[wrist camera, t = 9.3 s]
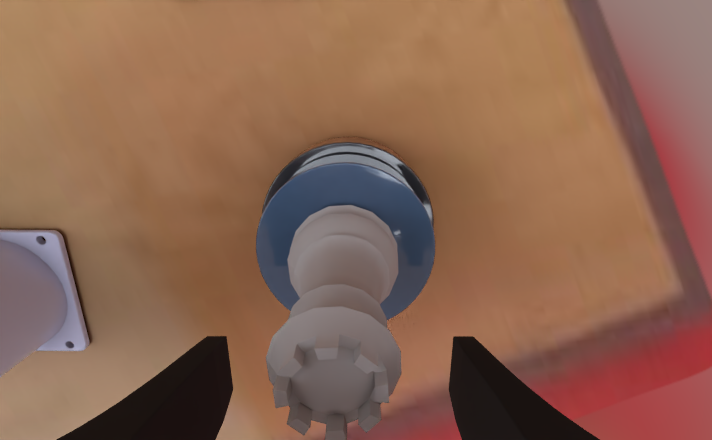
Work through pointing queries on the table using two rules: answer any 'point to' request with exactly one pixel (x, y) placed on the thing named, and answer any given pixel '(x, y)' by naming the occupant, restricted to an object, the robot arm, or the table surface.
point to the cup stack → (349, 187)
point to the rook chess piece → (337, 323)
